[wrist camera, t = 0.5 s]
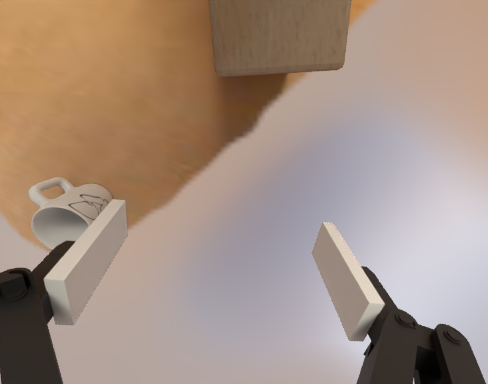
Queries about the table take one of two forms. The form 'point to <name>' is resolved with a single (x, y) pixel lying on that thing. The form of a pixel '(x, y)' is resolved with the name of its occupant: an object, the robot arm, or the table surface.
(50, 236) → the mug
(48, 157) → the table surface
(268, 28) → the wooden block
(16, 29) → the table surface
